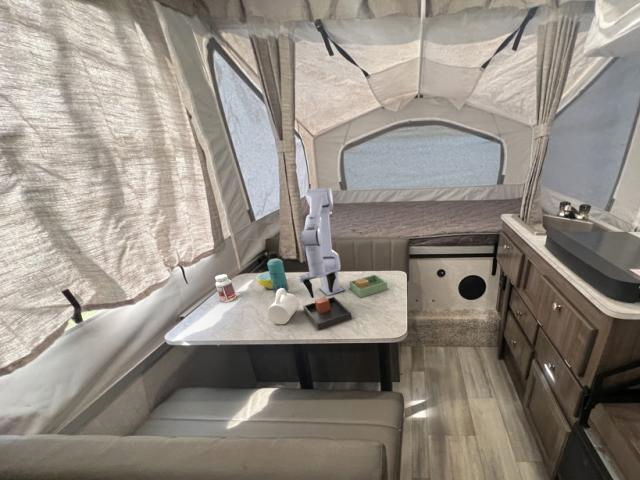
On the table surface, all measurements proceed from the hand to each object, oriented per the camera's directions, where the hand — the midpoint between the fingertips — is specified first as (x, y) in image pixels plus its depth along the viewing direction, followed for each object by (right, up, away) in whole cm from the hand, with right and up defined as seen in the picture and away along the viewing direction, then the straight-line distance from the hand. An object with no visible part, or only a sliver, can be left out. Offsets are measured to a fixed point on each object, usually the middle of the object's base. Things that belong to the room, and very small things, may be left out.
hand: (321, 294), depth 122 cm
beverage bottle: (-22, 0, +18) cm, 29 cm away
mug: (-14, -9, 0) cm, 17 cm away
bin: (+17, +3, +19) cm, 26 cm away
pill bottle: (-46, -2, +17) cm, 49 cm away
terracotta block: (0, -6, +3) cm, 7 cm away
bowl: (-30, +4, +27) cm, 41 cm away
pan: (+2, -8, 0) cm, 8 cm away
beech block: (+14, +2, +18) cm, 23 cm away
